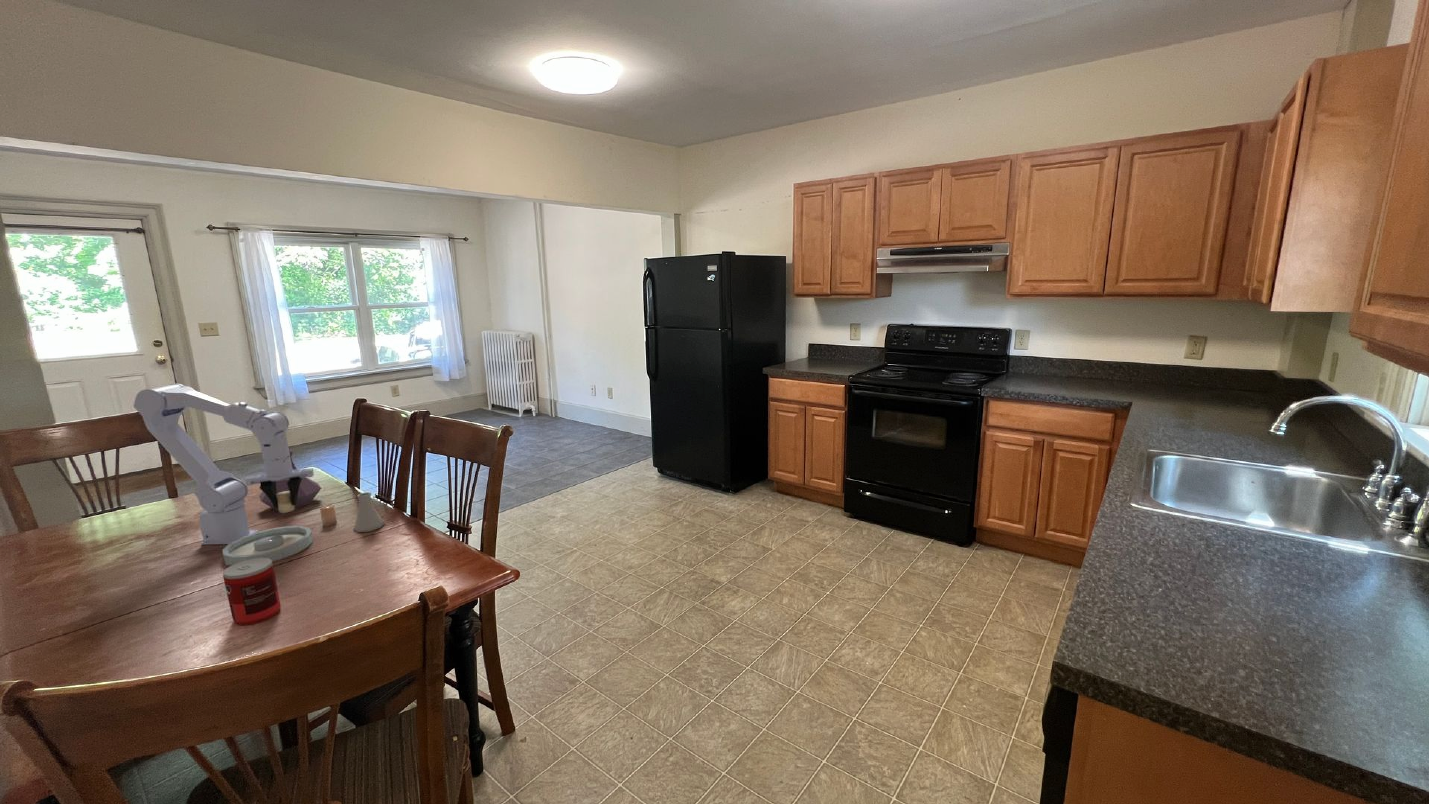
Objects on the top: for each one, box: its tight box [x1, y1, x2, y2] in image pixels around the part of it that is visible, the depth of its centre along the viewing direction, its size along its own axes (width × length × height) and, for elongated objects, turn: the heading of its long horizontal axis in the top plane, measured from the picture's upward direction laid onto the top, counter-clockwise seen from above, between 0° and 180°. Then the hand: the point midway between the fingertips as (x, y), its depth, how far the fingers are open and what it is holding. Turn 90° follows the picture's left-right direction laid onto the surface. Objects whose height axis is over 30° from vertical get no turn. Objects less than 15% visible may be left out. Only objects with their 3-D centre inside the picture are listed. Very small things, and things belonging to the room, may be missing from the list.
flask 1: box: [258, 448, 322, 511], centre depth 174 cm, size 16×16×20 cm
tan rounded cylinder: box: [276, 491, 295, 514], centre depth 152 cm, size 3×3×5 cm
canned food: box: [222, 558, 282, 626], centre depth 114 cm, size 8×8×11 cm
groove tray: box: [222, 525, 314, 567], centre depth 145 cm, size 18×18×2 cm
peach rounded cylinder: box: [319, 504, 338, 527], centre depth 160 cm, size 3×3×5 cm
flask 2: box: [353, 491, 386, 533], centre depth 156 cm, size 7×7×10 cm
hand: (285, 505), depth 152 cm, fingers closed on tan rounded cylinder, 3 cm apart
